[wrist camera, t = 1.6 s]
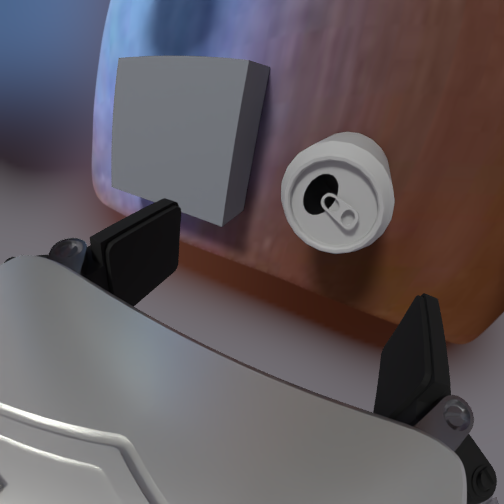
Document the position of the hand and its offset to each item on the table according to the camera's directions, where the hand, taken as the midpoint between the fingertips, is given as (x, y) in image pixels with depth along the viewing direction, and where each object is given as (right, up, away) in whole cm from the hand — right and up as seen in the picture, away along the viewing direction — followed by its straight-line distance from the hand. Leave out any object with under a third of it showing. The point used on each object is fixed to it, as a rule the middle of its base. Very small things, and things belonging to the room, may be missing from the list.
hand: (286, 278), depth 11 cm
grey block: (-8, +15, +20) cm, 27 cm away
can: (+8, +9, +16) cm, 20 cm away
